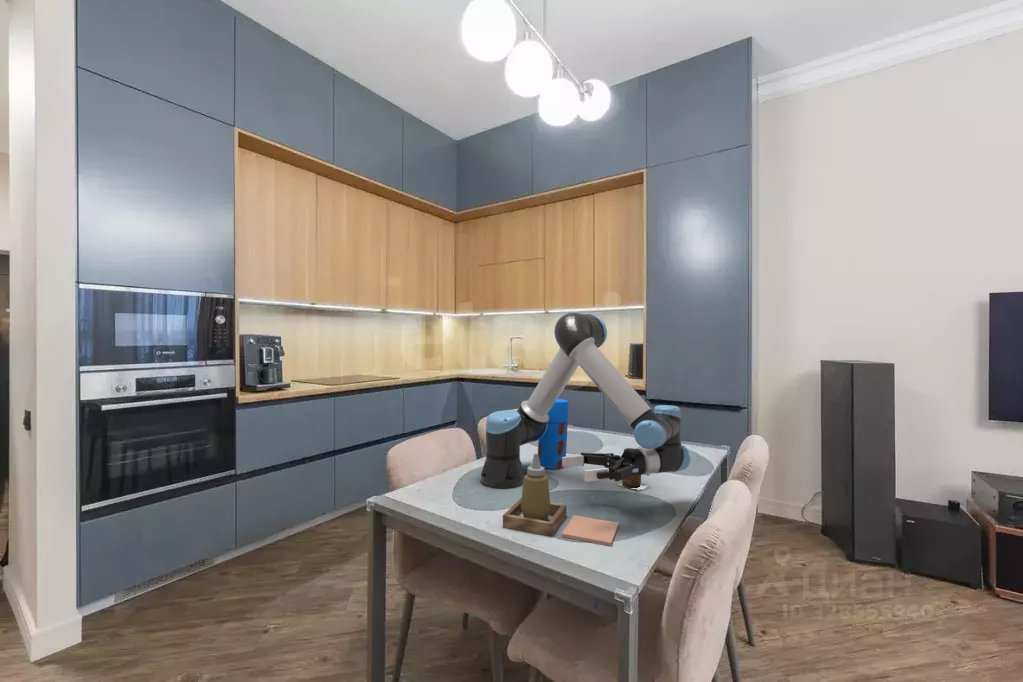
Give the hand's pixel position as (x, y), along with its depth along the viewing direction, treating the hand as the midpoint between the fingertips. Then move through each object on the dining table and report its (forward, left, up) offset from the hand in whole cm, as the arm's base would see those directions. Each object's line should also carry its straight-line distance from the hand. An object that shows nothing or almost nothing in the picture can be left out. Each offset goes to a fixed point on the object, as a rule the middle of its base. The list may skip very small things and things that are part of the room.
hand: (573, 468), depth 117 cm
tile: (+7, -7, -13) cm, 16 cm away
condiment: (+13, +32, -14) cm, 37 cm away
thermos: (-19, +43, -13) cm, 49 cm away
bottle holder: (-8, -7, -13) cm, 17 cm away
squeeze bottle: (-8, -7, -14) cm, 17 cm away
